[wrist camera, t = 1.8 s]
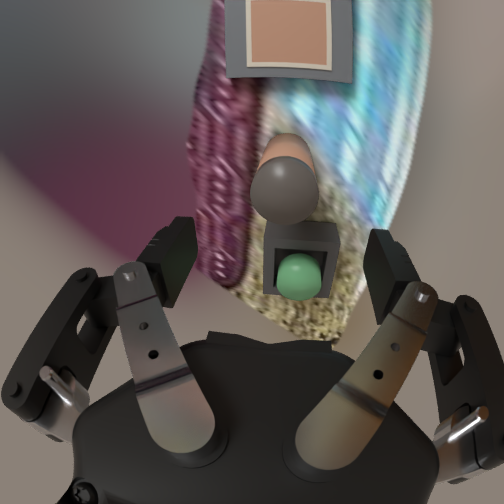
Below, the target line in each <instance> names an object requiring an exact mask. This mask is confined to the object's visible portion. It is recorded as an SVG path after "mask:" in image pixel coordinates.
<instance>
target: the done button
mask: <svg viewBox="0 0 504 504" xmlns="http://www.w3.org/2000/svg"><path fill="white" fill-rule="evenodd" d="M277 288H278V290H279V292H280V293H281V294H282V295H283V296H284V297H286V298H288V299H291V300H296V301H302V300H307V299H310V298H312V297H314V296H315V295H316V294H317V293H318V292H319V291H320V289H321V272H320V265H319V263H318V262H317V260H316V259H315V258H313V257H312V256H310V255H307V254H302V253H297V254H292V255H289V256H287V257H285V258H284V259H283V260H282V261H281V262H280V264H279V267H278V276H277Z"/></svg>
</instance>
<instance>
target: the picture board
mask: <svg viewBox="0 0 504 504" xmlns="http://www.w3.org/2000/svg"><path fill="white" fill-rule="evenodd" d="M225 51H226V78H243V77H282V78H302V79H316V80H326V81H335V82H343V83H351V84H352V66H353V27H352V1H351V0H225Z"/></svg>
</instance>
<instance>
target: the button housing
mask: <svg viewBox="0 0 504 504" xmlns="http://www.w3.org/2000/svg"><path fill="white" fill-rule="evenodd" d="M339 248H340V239H339V235H338V230H337V226H336V223H325V222H311V221H301V222H299V223H296V224H291V225H280V224H275V223H272V222H270V221H268V220H267V223H266V228H265V234H264V259H263V294H272V295H282V294H281V293H280V292H279V290H278V288H277V276H278V267H279V264H280V262H281V261H282V260H283V259H284V258H285V257H287V256H289V255H292V254H297V253H302V254H307V255H310V256H312V257H313V258H315V259H316V260H317V262H318V263H319V265H320V272H321V289H320V291H319V292H318V293H317V294H316V295H315V296H314V297H318V298H329V294H330V290H331V286H332V281H333V277H334V272H335V268H336V263H337V258H338V253H339Z"/></svg>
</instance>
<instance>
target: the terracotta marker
mask: <svg viewBox="0 0 504 504" xmlns="http://www.w3.org/2000/svg"><path fill="white" fill-rule="evenodd" d="M250 196H251V201H252V204H253V206H254V208H255V209H256V211H257V212H258V213H259V214H260V215H261V216H262V217H263V218H265V219H266V220H268V221H270V222H272V223H275V224H280V225H291V224H296V223H299V222H301V221H303V220H305V219H306V218H308V217H309V216H310V215H311V214H312V213H313V211H314V210H315V208H316V206H317V203H318V199H319V190H318V185H317V180H316V176H315V171H314V167H313V162H312V158H311V153H310V149H309V147H308V145H307V143H306V142H305V141H304V140H303V139H302V138H301V137H299V136H297V135H295V134H291V133H283V134H279V135H277V136H275V137H273V138H272V139H271V140H270V141H269V142H268V144H267V146H266V149H265V151H264V154H263V156H262V159H261V161H260V164H259V166H258V169H257V172H256V174H255V177H254V179H253V182H252V185H251V190H250Z"/></svg>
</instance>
